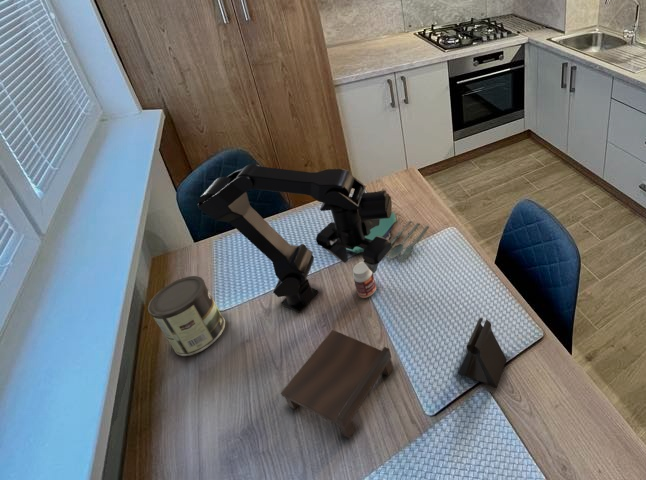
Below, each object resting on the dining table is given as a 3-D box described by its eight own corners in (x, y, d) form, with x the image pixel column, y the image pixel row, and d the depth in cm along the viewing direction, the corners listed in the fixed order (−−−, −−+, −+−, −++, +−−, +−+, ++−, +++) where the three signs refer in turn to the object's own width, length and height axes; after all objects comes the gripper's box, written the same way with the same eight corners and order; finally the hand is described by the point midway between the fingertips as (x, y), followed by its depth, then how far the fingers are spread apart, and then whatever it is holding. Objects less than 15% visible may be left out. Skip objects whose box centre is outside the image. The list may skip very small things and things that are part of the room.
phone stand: (506, 360, 89) (504, 324, 84) (496, 388, 84) (493, 352, 79) (469, 347, 92) (465, 312, 87) (457, 373, 87) (452, 338, 81)
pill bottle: (370, 299, 104) (364, 276, 100) (354, 296, 105) (347, 274, 101) (379, 284, 108) (374, 261, 104) (363, 281, 109) (357, 259, 105)
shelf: (287, 407, 82) (277, 387, 79) (337, 343, 94) (330, 323, 91) (349, 440, 77) (341, 420, 73) (394, 368, 88) (389, 348, 85)
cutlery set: (359, 203, 138) (358, 198, 137) (434, 226, 127) (433, 220, 126) (313, 245, 121) (311, 239, 120) (395, 275, 110) (393, 269, 109)
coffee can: (209, 309, 103) (187, 269, 97) (234, 324, 99) (214, 284, 93) (163, 345, 95) (137, 305, 88) (190, 364, 91) (164, 323, 84)
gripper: (400, 206, 99) (409, 252, 106) (341, 190, 106) (353, 235, 112) (370, 238, 90) (382, 287, 97) (307, 218, 96) (322, 265, 103)
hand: (360, 266), depth 102 cm, fingers open, 9 cm apart
